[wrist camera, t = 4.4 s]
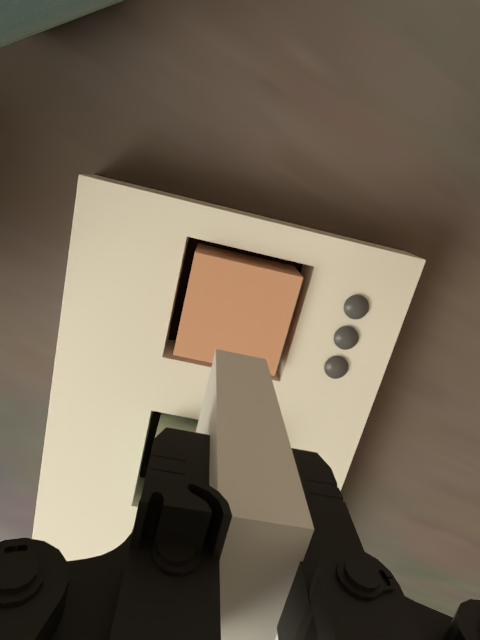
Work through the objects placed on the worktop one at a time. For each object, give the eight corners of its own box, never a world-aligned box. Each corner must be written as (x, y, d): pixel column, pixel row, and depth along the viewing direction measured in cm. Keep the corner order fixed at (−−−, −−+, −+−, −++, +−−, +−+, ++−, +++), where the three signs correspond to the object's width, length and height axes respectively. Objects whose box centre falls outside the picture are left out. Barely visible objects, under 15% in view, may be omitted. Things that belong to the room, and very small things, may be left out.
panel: (36, 595, 29) (19, 634, 27) (94, 174, 21) (77, 174, 19) (271, 629, 31) (275, 668, 29) (405, 251, 23) (427, 260, 21)
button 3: (178, 335, 24) (173, 355, 21) (197, 243, 22) (194, 251, 20) (269, 354, 24) (274, 376, 22) (294, 265, 23) (303, 277, 20)
